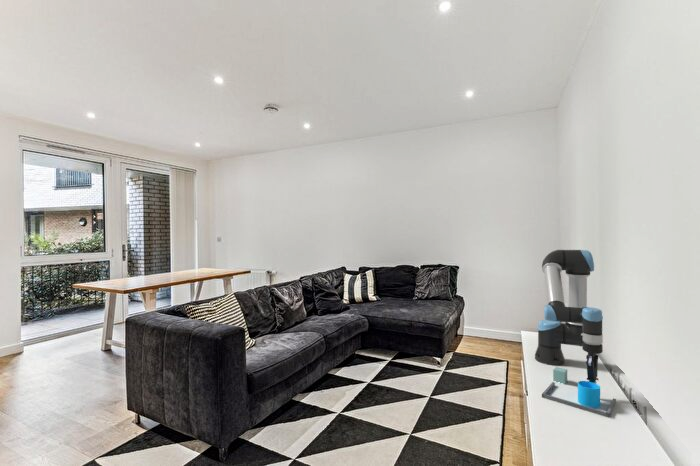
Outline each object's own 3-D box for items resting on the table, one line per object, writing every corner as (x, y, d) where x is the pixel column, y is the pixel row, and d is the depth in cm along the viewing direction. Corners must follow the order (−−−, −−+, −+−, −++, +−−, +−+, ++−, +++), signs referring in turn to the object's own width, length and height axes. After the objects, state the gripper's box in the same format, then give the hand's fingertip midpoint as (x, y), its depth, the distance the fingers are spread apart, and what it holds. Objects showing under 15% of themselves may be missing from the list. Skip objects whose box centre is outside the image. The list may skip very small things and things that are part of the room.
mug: (601, 409, 149) (601, 390, 149) (579, 405, 152) (579, 386, 152) (597, 397, 159) (597, 379, 159) (575, 393, 163) (575, 376, 163)
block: (556, 378, 180) (556, 366, 180) (567, 381, 176) (567, 369, 176) (553, 381, 176) (553, 369, 176) (564, 384, 173) (564, 372, 173)
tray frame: (552, 385, 172) (552, 382, 172) (615, 402, 155) (615, 399, 155) (541, 397, 160) (541, 394, 160) (609, 417, 142) (609, 414, 142)
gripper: (585, 337, 166) (585, 386, 166) (579, 344, 157) (579, 396, 157) (604, 340, 161) (605, 391, 161) (599, 348, 152) (599, 402, 152)
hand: (592, 394), depth 159 cm, fingers closed
